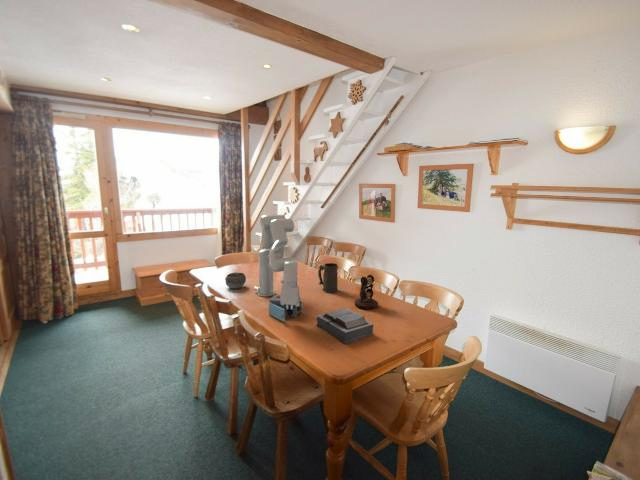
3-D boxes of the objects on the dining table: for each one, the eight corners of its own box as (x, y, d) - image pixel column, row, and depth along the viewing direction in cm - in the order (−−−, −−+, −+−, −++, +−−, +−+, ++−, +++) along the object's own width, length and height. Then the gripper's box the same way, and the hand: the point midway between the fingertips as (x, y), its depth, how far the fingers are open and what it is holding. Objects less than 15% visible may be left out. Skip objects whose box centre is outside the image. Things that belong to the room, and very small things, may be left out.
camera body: (269, 314, 184) (269, 299, 182) (274, 308, 193) (274, 293, 191) (299, 317, 181) (299, 301, 179) (303, 311, 190) (303, 296, 188)
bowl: (248, 285, 237) (248, 272, 236) (241, 291, 222) (241, 278, 220) (230, 284, 239) (230, 271, 237) (222, 290, 224) (222, 277, 222)
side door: (267, 315, 182) (266, 303, 181) (270, 314, 184) (270, 302, 183) (281, 322, 173) (281, 310, 172) (285, 321, 174) (285, 309, 173)
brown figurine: (363, 300, 212) (365, 271, 208) (382, 306, 202) (384, 276, 198) (349, 305, 202) (351, 275, 198) (368, 312, 191) (370, 280, 188)
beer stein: (340, 289, 232) (339, 262, 229) (336, 293, 222) (335, 266, 219) (320, 288, 237) (319, 262, 234) (315, 292, 227) (314, 265, 224)
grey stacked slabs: (335, 347, 150) (336, 327, 148) (313, 324, 174) (314, 307, 172) (377, 338, 159) (378, 320, 157) (350, 317, 183) (351, 301, 182)
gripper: (274, 284, 168) (274, 316, 171) (302, 286, 165) (301, 319, 169) (279, 280, 175) (279, 311, 178) (305, 282, 173) (304, 314, 176)
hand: (290, 315), depth 173 cm, fingers closed
